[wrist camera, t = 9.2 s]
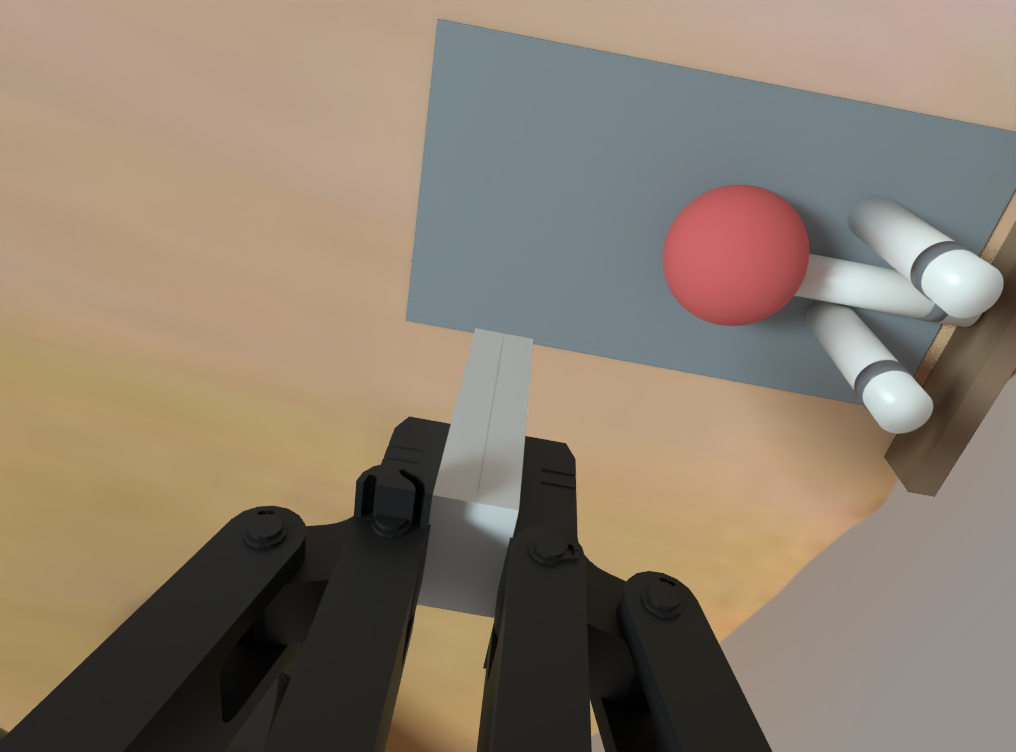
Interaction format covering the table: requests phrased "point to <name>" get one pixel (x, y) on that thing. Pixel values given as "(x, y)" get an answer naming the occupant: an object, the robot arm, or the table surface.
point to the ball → (736, 255)
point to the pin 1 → (927, 257)
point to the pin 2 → (870, 368)
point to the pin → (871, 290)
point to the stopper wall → (962, 387)
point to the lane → (662, 200)
